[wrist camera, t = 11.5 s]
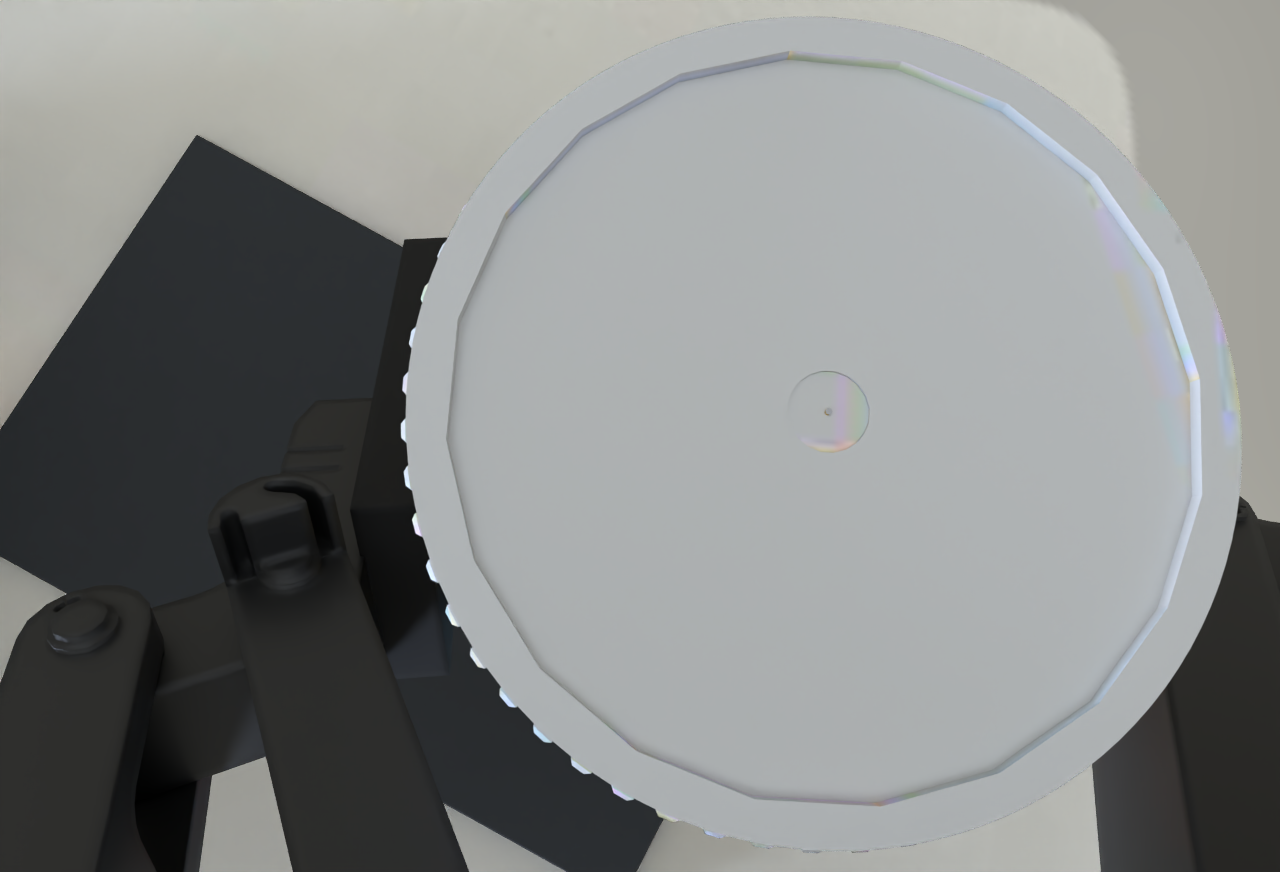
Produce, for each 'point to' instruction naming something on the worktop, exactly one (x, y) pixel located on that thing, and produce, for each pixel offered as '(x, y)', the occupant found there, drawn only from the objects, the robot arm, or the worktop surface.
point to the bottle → (822, 434)
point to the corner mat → (255, 457)
